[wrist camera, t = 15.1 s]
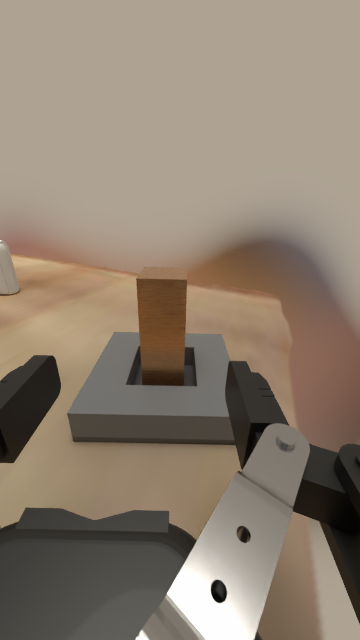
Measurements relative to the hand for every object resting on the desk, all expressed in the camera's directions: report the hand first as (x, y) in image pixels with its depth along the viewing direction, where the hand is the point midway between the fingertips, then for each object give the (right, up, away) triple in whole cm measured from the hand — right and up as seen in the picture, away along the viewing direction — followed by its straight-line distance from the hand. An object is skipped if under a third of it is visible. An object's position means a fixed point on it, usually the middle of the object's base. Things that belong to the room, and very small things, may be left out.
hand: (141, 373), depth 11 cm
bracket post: (0, -4, +15) cm, 15 cm away
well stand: (0, -5, +15) cm, 16 cm away
